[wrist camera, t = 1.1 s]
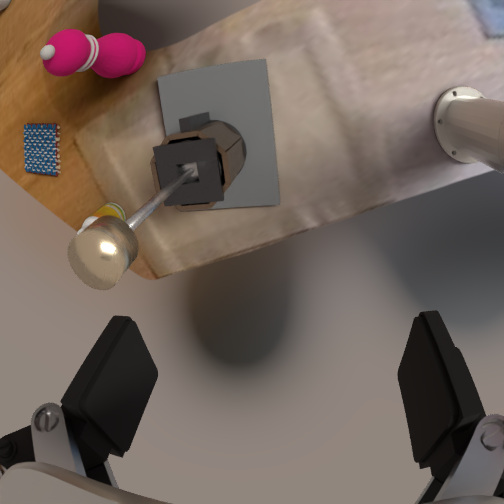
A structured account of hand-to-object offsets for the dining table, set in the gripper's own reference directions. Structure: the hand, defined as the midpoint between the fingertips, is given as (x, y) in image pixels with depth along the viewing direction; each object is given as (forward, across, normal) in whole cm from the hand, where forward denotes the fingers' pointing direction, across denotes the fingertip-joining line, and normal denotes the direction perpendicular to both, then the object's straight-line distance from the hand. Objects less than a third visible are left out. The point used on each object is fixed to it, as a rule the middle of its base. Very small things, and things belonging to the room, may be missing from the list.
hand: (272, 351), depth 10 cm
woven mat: (+39, +46, -7) cm, 61 cm away
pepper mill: (+39, +23, -18) cm, 48 cm away
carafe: (+37, +11, 0) cm, 39 cm away
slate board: (+38, +10, -2) cm, 40 cm away
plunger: (+26, +11, 0) cm, 29 cm away
